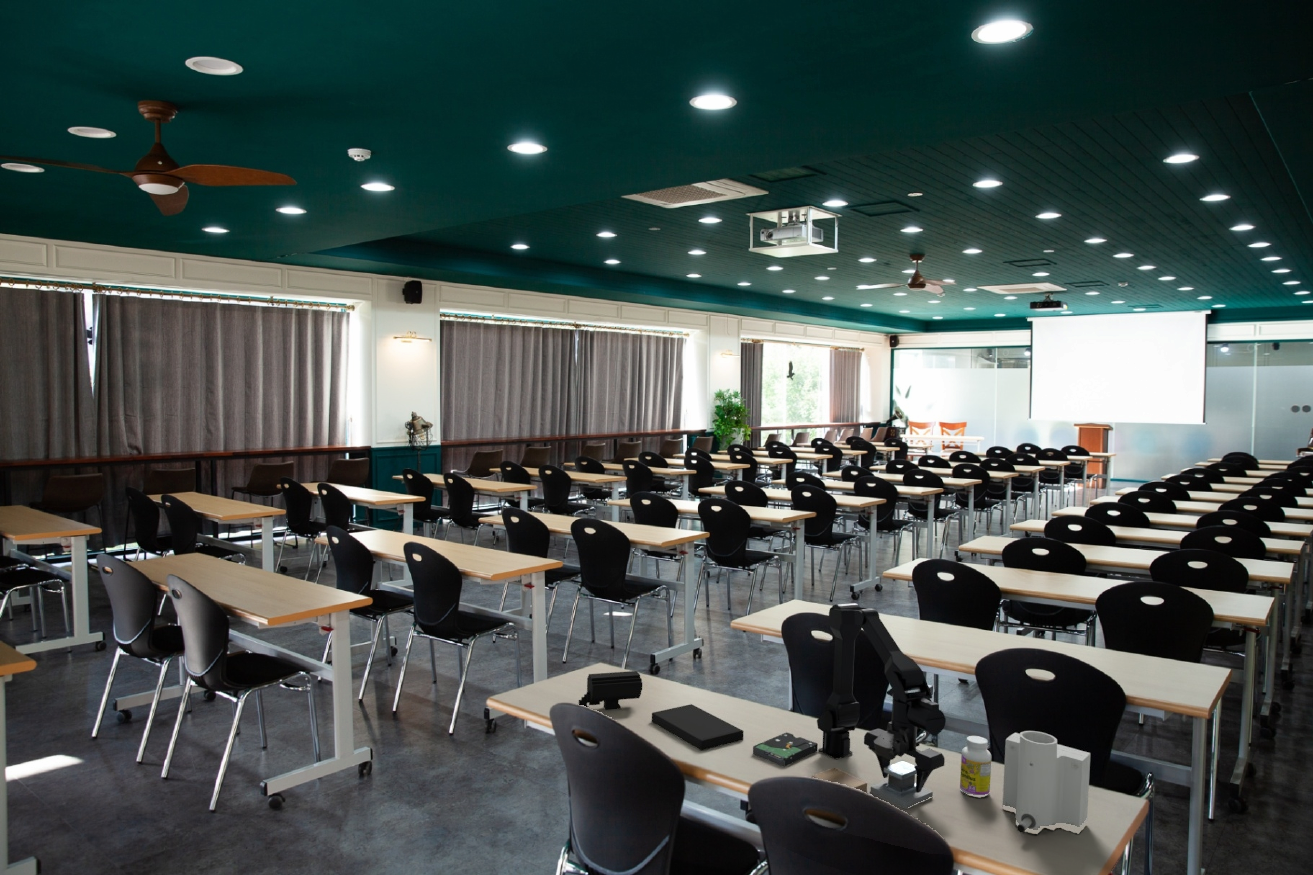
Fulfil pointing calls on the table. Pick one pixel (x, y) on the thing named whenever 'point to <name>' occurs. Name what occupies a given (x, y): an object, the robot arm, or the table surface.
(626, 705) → the table surface
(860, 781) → the stand
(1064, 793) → the grey cylinder bracket
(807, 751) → the disk drive
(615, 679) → the security camera
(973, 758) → the supplement bottle
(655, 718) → the external hard drive
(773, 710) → the table surface
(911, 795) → the stand
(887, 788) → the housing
